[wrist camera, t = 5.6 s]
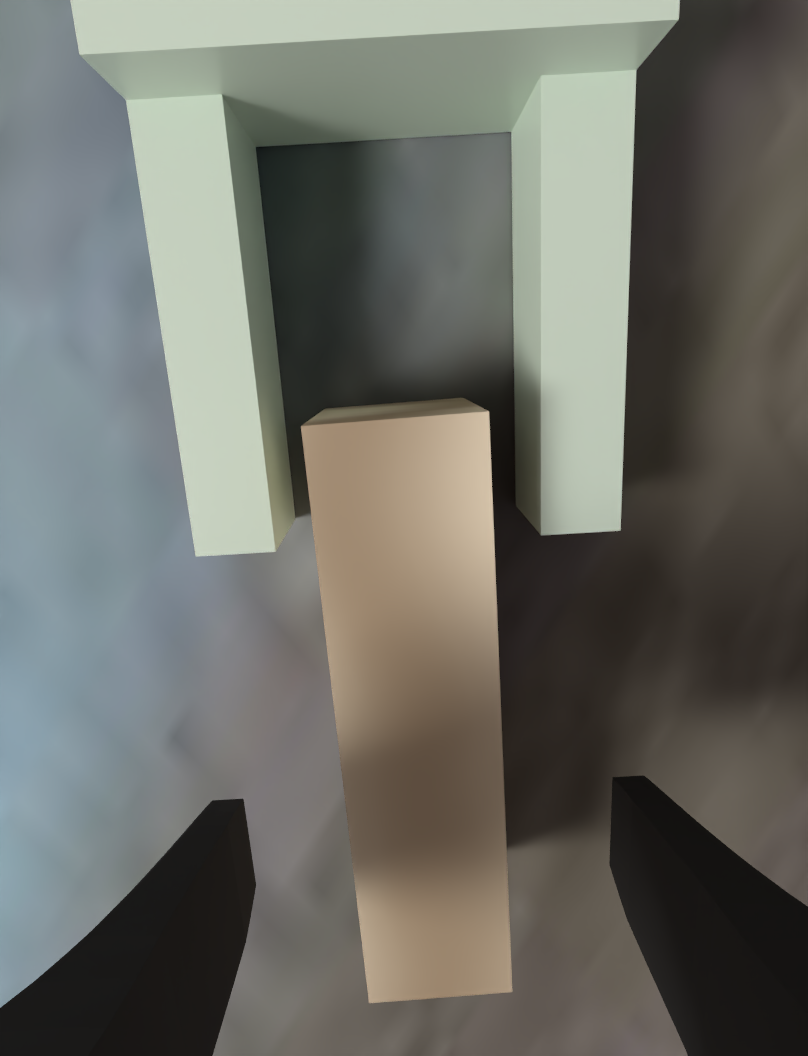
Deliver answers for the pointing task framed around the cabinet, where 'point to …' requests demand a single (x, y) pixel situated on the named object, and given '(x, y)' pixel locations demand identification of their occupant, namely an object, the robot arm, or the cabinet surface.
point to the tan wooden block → (416, 687)
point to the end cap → (375, 114)
